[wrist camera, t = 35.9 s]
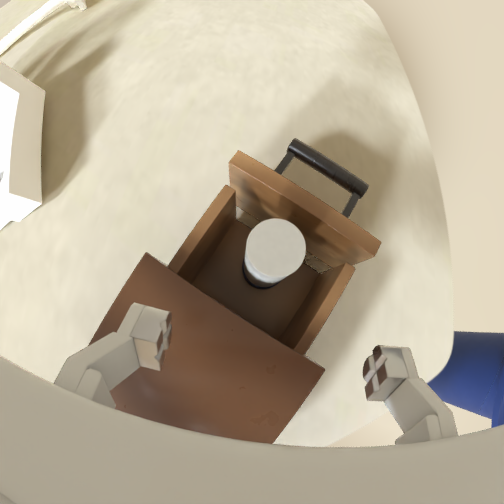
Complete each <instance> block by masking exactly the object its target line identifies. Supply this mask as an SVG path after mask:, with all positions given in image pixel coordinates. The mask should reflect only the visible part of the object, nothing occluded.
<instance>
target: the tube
mask: <svg viewBox="0 0 504 504" xmlns="http://www.w3.org/2000/svg"><path fill="white" fill-rule="evenodd" d="M305 254H306V244H305V240H304V237H303V235H302V233H301V232H300V230H299V229H298V228H297V227H296V226H295V225H293V224H292V223H290V222H289V221H286V220H283V219H276V218H273V219H268V220H265V221H262V222H260V223H259V224H257V225H256V226H255V227H254V228H253V229H252V231H251V232H250V234H249V236H248V239H247V244H246V251H245V257H244V260H243V264H242V273H243V276H244V278H245V280H246V281H247V283H248V284H249V285H251V286H252V287H254V288H257V289H269V288H272V287H274V286H275V285H277V284H278V283H279V282H280V281H281V280H282V279H284V278H286V277H287V276H289V275H290V274H292V273H293V272H295V271H296V270H297V269H298V268H299V267H300V265H301V264H302V262H303V260H304V258H305Z"/></svg>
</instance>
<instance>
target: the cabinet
mask: <svg viewBox="0 0 504 504" xmlns="http://www.w3.org/2000/svg"><path fill="white" fill-rule="evenodd" d="M167 266H168V265H166V264H165V263H163V262H161V261H160V260H158V259H157V258H155V257H153V256H152V255H150V254H149V253H147V252H146V253H145V254H144V256H143V257H142V259H141V260H140V262H139V263H138V265H137V266H136V268H135V269H134V271H133V272H132V274H131V276H130V277H129V279H128V280H127V282H126V283H125V285H124V287H123V288H122V290H121V291H120V293H119V294H118V296H117V298H116V299H115V301H114V303H113V304H112V306H111V307H110V309H109V311H108V312H107V314H106V316H105V317H104V319H103V321H102V323H101V324H100V326H99V328H98V329H97V331H96V333H95V335H94V336H93V338H92V340H91V342H90V343H89V345H91V344H93V343H95V342H96V341H98V340H100V339H102V338H103V337H105V336H107V335H109V334H110V333H112V332H116V333H117V331H118V329H119V327H120V325H121V323H122V321H123V320H124V318H125V316H126V314H127V312H128V310H129V308H130V307H131V305H132V304H133V303H134V302H135V303H139V304H142V305H146V306H150V307H154V308H157V309H161V310H165V311H169V312H171V315H172V319H171V322H170V324H171V325H172V337H171V342H170V345H169V348H168V349H167V350H165V351H164V352H165V359H164V362H163V365H162V368H161V370H160V371H158V370H154V369H150V368H146V367H142V366H140V367H139V368H138V369H137V370H136V371H134V372H133V373H132V374H131V375H129V376H128V377H127V378H126V379H124V380H123V381H122V382H121V383H119V384H118V385H117V386H115V387H114V388H113V389H112V390H110V391H109V392H110V394H111V396H112V398H113V400H114V402H115V404H116V407H115V409H116V410H119V411H122V412H125V413H128V414H131V415H134V416H138V417H141V418H144V419H147V420H151V421H154V422H158V423H162V424H165V425H169V426H173V427H177V428H181V429H185V430H190V431H194V432H199V433H204V434H209V435H214V436H219V437H225V438H231V439H237V440H244V441H251V442H259V443H268V444H272V443H273V442H274V441H275V440H276V438H277V437H278V436H279V435H280V433H281V432H282V431H283V429H284V428H285V427H286V425H287V424H288V423H289V421H290V420H291V419H292V417H293V416H294V415H295V413H296V412H297V411H298V409H299V408H300V406H301V405H302V404H303V402H304V401H305V399H306V398H307V396H308V395H309V394H310V392H311V391H312V389H313V388H314V386H315V385H316V383H317V382H318V380H319V379H320V377H321V376H322V374H323V373H324V371H325V368H323V367H322V366H320V365H319V364H317V363H316V362H314V361H313V360H311V359H310V358H309V357H307V356H306V355H304V356H303V355H301V354H300V353H298V352H296V351H295V350H293V349H291V348H290V347H288V346H286V345H285V344H283V343H282V342H280V341H278V340H277V339H275V338H273V337H272V336H270V335H269V334H267V333H265V332H264V331H262V330H261V329H259V328H258V327H256V326H254V325H253V324H251V323H250V322H248V321H247V320H245V319H243V318H242V317H240V316H239V315H237V314H236V313H234V312H233V311H231V310H230V309H228V308H227V307H225V306H224V305H222V304H221V303H219V302H218V301H216V300H215V299H213V298H212V297H210V296H209V295H207V294H206V293H204V292H203V291H201V290H200V289H198V288H197V287H195V286H194V285H193V284H191V283H190V282H188V281H187V280H185V279H184V278H182V277H181V276H180V275H178V274H177V273H175V272H174V271H173V270H171V269H170V268H168V267H167ZM89 345H88V346H89Z"/></svg>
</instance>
